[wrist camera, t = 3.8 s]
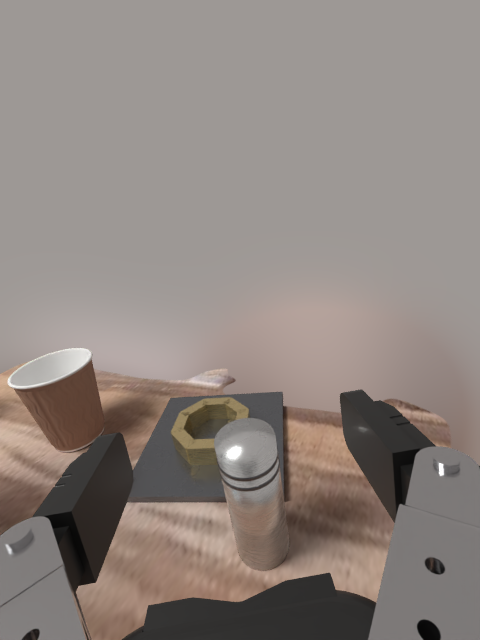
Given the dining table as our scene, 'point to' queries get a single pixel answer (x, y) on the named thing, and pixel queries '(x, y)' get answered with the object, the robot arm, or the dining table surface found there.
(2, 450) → the dining table surface
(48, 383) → the coffee cup
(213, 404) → the collar plate
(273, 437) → the piston
